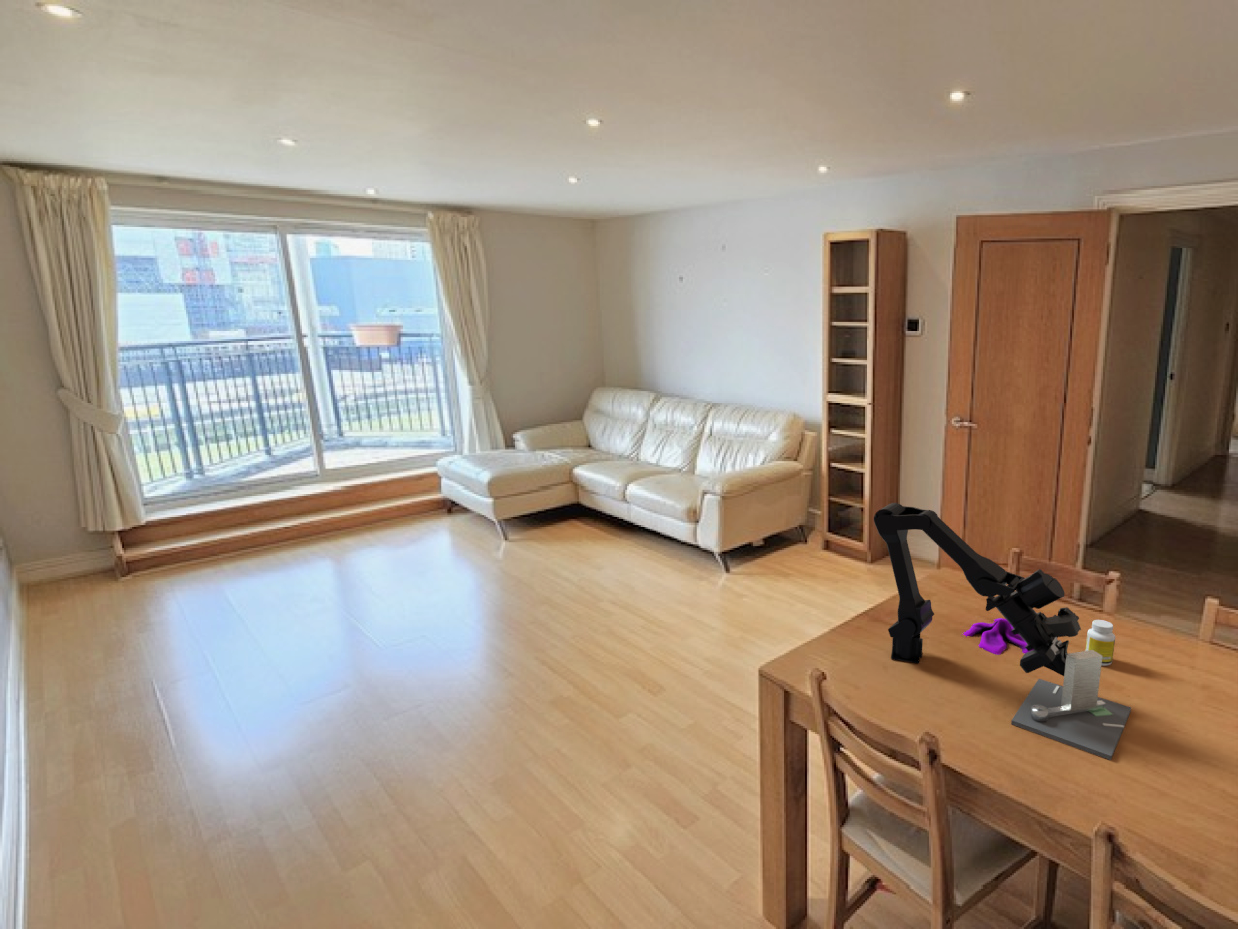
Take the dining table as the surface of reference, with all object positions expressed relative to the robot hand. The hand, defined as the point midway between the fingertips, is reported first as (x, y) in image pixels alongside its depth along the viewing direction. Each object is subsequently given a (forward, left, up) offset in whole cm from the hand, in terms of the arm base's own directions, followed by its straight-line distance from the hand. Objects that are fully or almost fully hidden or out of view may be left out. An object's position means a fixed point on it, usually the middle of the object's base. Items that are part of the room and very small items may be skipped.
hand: (1076, 680), depth 138 cm
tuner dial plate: (-1, -3, -7) cm, 8 cm away
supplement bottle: (+8, +24, -8) cm, 27 cm away
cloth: (-13, +29, -8) cm, 33 cm away
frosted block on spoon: (-2, -3, -6) cm, 7 cm away
